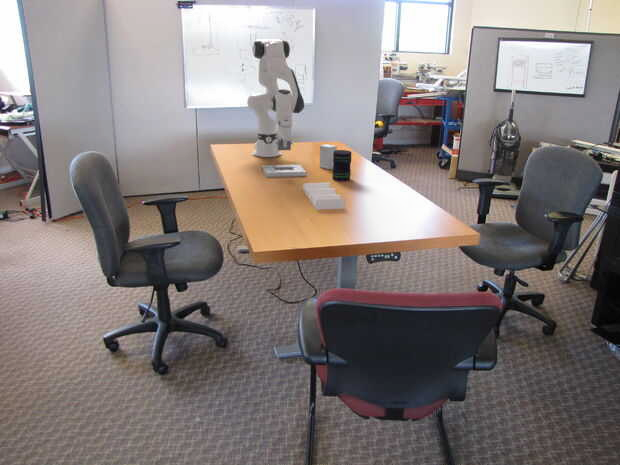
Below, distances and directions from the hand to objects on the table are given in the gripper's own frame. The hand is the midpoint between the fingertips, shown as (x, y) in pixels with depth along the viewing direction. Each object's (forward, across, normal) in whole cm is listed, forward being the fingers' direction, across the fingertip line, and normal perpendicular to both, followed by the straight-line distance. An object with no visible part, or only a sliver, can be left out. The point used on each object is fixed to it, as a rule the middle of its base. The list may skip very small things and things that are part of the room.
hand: (283, 146), depth 283 cm
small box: (+15, -10, +28) cm, 33 cm away
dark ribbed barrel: (+15, +17, +29) cm, 37 cm away
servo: (+2, 0, 0) cm, 2 cm away
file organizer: (+16, +50, +10) cm, 53 cm away
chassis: (+15, 0, 0) cm, 15 cm away
